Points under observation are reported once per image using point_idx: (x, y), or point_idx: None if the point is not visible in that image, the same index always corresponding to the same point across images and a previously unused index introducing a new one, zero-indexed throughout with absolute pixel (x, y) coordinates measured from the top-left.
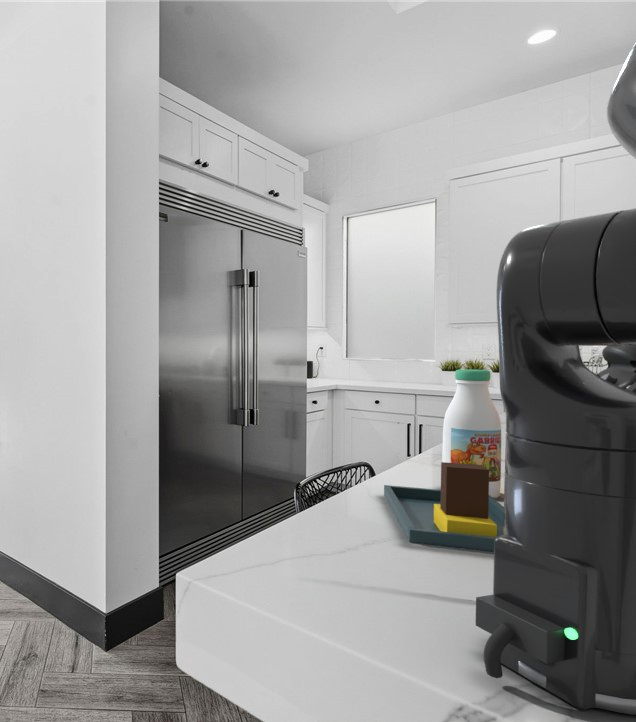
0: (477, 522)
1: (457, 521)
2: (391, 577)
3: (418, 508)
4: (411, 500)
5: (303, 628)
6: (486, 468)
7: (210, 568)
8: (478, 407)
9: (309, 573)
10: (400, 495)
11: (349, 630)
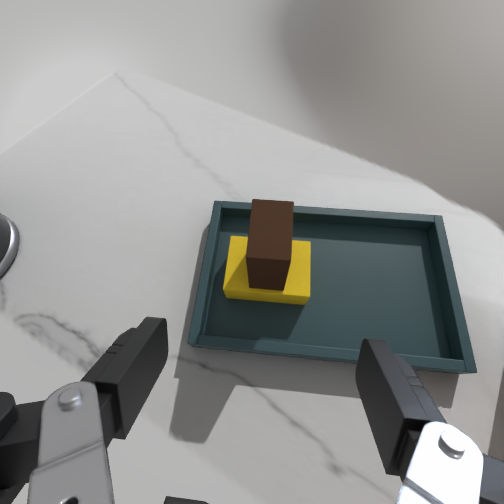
0: (227, 268)
1: (229, 246)
2: (131, 181)
3: (370, 251)
4: (415, 253)
5: (44, 122)
6: (256, 256)
7: (135, 78)
8: None
9: (133, 129)
10: (430, 241)
11: (40, 143)
